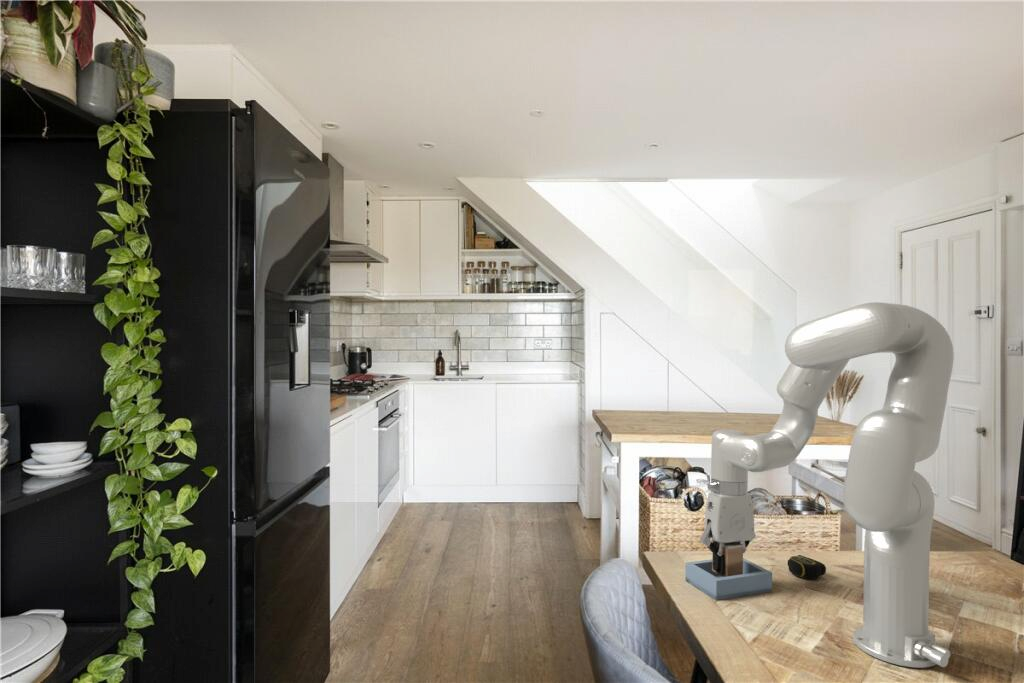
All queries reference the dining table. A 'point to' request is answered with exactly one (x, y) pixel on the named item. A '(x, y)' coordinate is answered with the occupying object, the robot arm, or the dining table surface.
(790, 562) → the tape measure
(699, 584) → the container
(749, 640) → the dining table surface
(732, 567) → the wooden rectangular block
